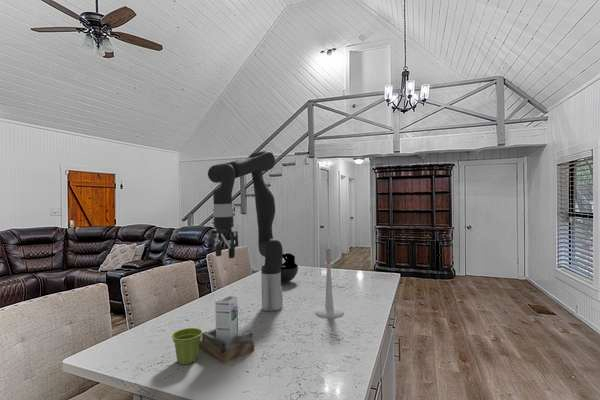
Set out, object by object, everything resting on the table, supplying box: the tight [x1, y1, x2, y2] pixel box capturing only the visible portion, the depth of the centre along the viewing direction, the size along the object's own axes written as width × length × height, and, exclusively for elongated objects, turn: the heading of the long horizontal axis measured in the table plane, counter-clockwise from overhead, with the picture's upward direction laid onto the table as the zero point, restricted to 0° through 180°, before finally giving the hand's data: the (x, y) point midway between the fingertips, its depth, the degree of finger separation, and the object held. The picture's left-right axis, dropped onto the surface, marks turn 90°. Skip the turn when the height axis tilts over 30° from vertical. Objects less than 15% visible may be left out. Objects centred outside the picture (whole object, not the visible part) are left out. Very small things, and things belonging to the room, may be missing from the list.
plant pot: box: [171, 327, 203, 365], centre depth 102 cm, size 9×9×9 cm
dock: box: [198, 328, 255, 364], centre depth 111 cm, size 12×20×6 cm, turn 47°
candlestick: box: [314, 247, 344, 319], centre depth 144 cm, size 13×13×30 cm
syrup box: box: [214, 295, 239, 341], centre depth 109 cm, size 6×6×14 cm
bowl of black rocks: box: [281, 253, 299, 284], centre depth 200 cm, size 20×20×19 cm
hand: (225, 257), depth 123 cm, fingers open, 8 cm apart
